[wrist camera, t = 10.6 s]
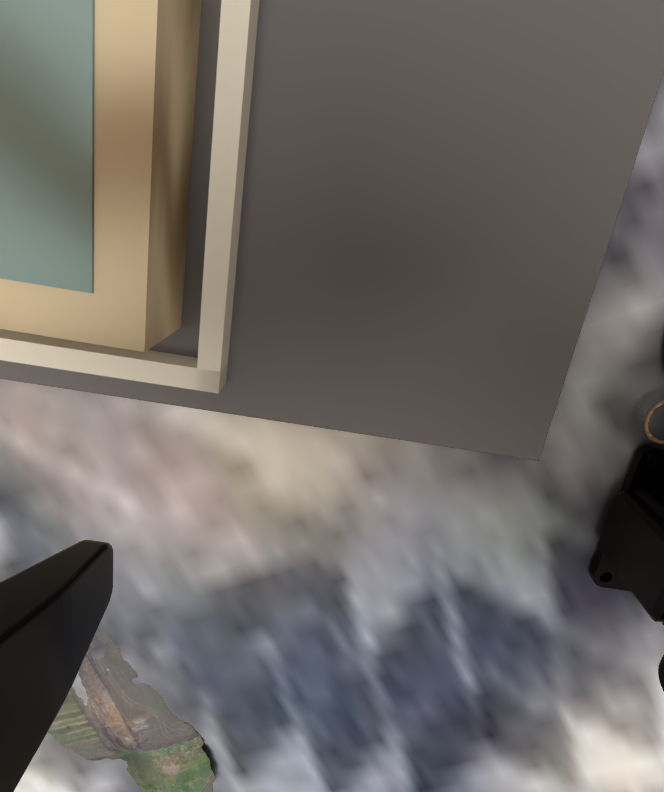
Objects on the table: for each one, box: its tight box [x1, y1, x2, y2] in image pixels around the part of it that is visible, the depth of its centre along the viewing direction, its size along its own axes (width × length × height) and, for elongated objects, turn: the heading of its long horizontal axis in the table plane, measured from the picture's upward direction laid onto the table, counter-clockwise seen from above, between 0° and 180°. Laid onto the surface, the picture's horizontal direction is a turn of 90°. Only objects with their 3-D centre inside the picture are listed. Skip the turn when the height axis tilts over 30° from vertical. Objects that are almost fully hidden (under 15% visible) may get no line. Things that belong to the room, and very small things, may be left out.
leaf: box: [48, 631, 215, 792], centre depth 25 cm, size 20×8×1 cm, turn 25°
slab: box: [0, 0, 201, 352], centre depth 15 cm, size 10×6×4 cm, turn 171°
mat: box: [0, 0, 664, 461], centre depth 15 cm, size 24×22×2 cm
